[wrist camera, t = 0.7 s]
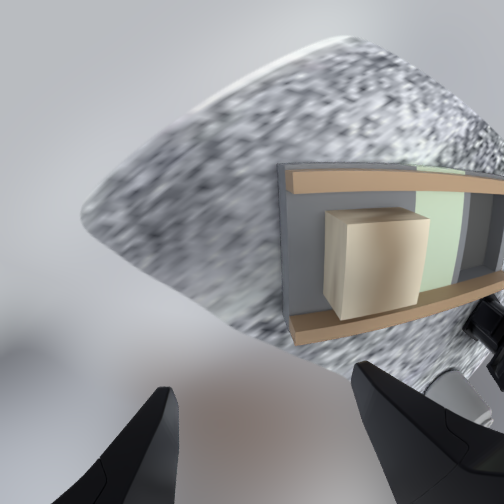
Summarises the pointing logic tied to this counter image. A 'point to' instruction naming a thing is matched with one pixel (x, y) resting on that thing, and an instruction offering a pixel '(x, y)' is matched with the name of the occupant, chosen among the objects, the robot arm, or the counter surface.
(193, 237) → the counter surface
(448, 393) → the can
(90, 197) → the counter surface
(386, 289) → the maple block
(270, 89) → the counter surface
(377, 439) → the robot arm
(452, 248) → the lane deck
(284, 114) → the counter surface
